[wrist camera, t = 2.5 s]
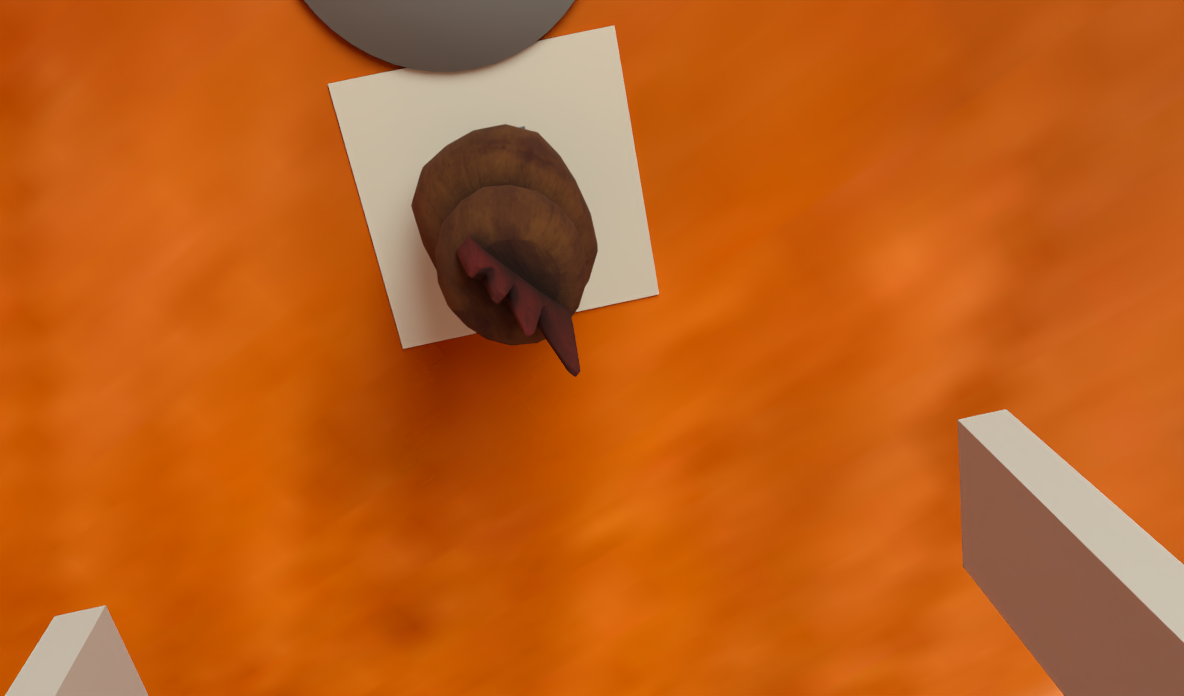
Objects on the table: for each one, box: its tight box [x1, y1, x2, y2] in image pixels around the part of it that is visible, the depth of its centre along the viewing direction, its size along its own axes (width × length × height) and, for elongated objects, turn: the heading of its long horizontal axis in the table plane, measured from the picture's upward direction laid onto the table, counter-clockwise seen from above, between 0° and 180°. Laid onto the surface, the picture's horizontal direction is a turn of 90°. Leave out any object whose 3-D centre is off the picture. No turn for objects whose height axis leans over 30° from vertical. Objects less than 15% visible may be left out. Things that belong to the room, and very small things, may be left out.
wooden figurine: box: [411, 124, 598, 377], centre depth 32 cm, size 7×6×15 cm
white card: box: [328, 26, 659, 349], centre depth 39 cm, size 11×11×1 cm
